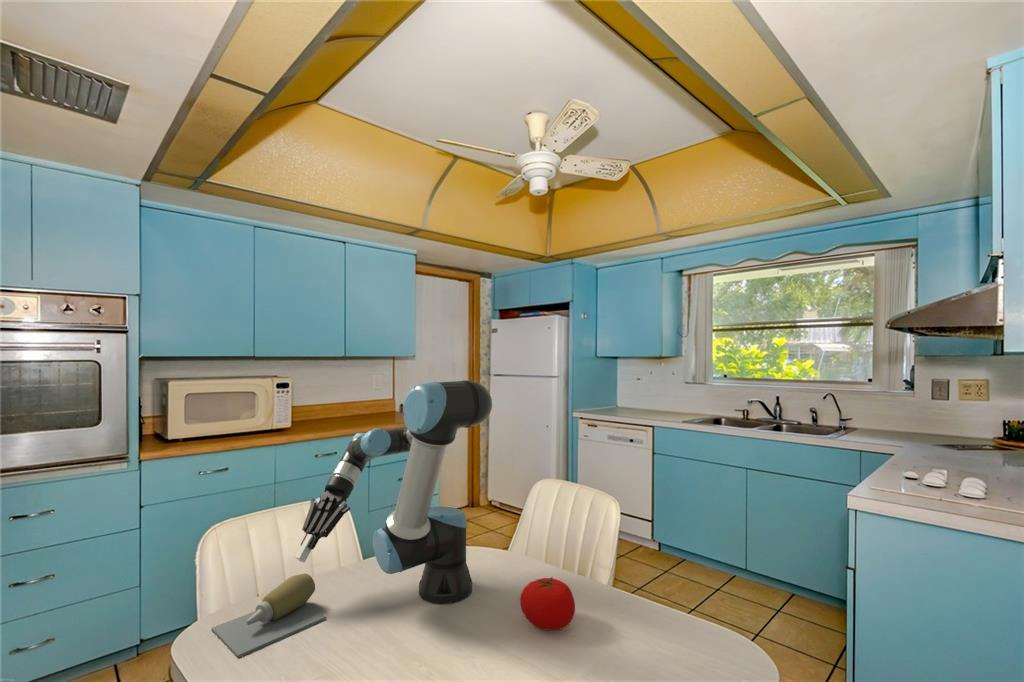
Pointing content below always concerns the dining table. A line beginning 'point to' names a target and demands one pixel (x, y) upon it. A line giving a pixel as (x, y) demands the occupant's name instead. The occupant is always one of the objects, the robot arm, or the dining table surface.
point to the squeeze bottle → (284, 599)
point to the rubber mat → (264, 629)
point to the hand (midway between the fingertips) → (299, 559)
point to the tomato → (548, 603)
